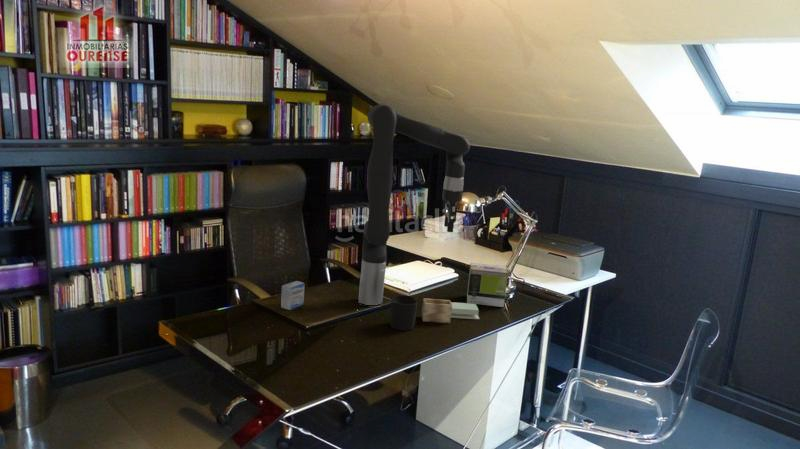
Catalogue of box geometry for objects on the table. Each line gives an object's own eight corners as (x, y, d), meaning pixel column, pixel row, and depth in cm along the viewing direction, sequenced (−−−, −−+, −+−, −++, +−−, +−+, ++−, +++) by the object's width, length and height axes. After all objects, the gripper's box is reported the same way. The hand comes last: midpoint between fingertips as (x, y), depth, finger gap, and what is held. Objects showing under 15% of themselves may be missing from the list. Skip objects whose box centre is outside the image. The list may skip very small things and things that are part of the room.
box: (422, 321, 220) (424, 303, 218) (421, 316, 225) (423, 298, 223) (449, 323, 221) (452, 305, 219) (448, 317, 226) (450, 300, 224)
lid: (449, 315, 227) (449, 308, 226) (446, 309, 233) (447, 302, 232) (477, 317, 228) (478, 310, 227) (474, 311, 234) (475, 303, 233)
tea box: (502, 299, 251) (507, 265, 248) (503, 308, 242) (508, 273, 238) (466, 295, 252) (470, 261, 249) (466, 303, 243) (470, 268, 239)
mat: (447, 317, 226) (447, 316, 226) (445, 309, 234) (445, 308, 234) (479, 319, 227) (479, 318, 227) (475, 311, 235) (475, 310, 235)
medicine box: (289, 310, 218) (291, 288, 216) (280, 307, 220) (281, 285, 218) (303, 304, 225) (305, 282, 223) (294, 301, 227) (295, 280, 225)
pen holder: (419, 325, 216) (422, 299, 214) (408, 333, 208) (411, 306, 206) (395, 318, 220) (398, 293, 218) (384, 327, 212) (386, 300, 209)
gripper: (441, 184, 237) (436, 224, 241) (446, 190, 224) (441, 233, 227) (459, 185, 238) (455, 225, 242) (465, 192, 224) (460, 234, 228)
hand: (448, 229), depth 235 cm, fingers open, 8 cm apart
